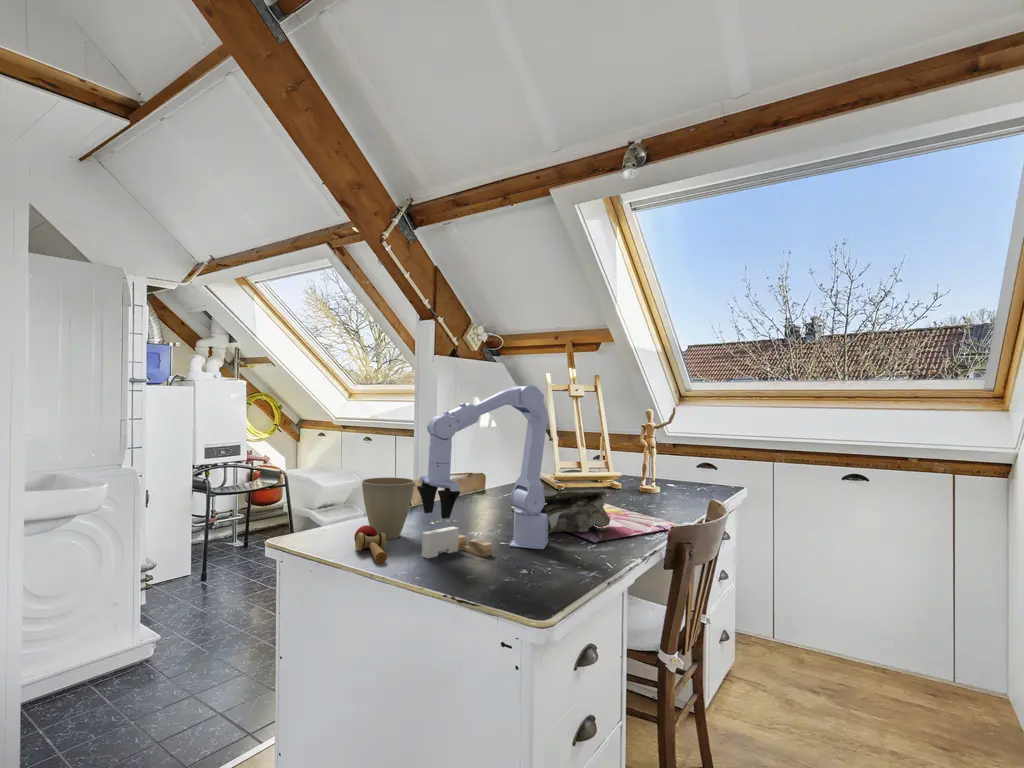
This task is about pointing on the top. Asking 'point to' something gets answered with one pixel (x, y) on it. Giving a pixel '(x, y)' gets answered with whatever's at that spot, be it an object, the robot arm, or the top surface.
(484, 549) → the wooden bar
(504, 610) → the top surface
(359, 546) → the kendama
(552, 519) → the hollow geode rock
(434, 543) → the white flat block
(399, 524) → the plant pot
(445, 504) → the robot arm
